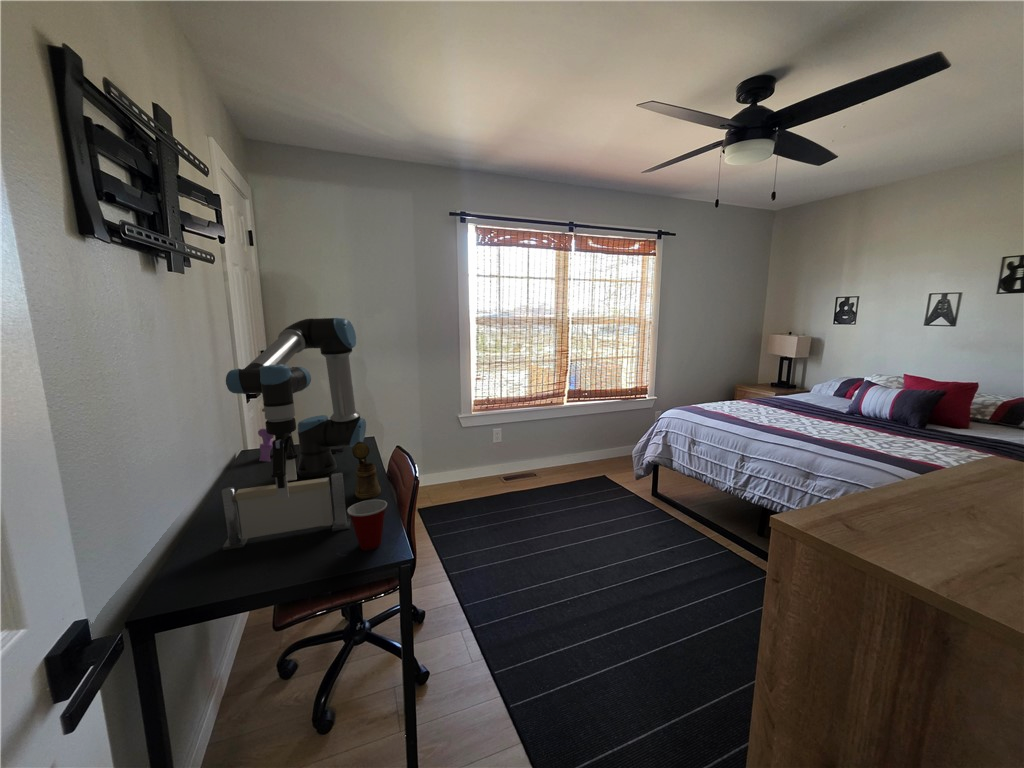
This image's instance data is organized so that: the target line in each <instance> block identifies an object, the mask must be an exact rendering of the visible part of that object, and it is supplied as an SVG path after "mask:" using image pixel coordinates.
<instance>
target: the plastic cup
mask: <svg viewBox="0 0 1024 768" xmlns="http://www.w3.org/2000/svg"><path fill="white" fill-rule="evenodd" d="M387 506H388V502H387V501H386V500H383V499H367V500H363V501H360V502H357V503H354V504H352V505H351V506H349V507H348V508H347V510H346V513H347V514H348V515H349V518H350V521H351V522H352V525H353V526H352V527H353V528H354V532H355V536H356V538H357V541H358V546H359V547H360V549H361V550H363V551H372V550H374V549H377V548H378V547H380V545H381V543H382V536H383V532H384V531H383V529H384V522H385V521H384V519H385V514H386V509H387Z"/></svg>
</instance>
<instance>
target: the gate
mask: <svg viewBox="0 0 1024 768" xmlns="http://www.w3.org/2000/svg"><path fill="white" fill-rule="evenodd" d="M288 492H289V497H288V498H281V499H278V498H277V489H276V483H275V484H269V485H259V486H254V487H249V488H248V487H247V488H245V487H244V488H239V489H237V491H235V496H236V503H237V510H238V517H239V524H240V532H241V536H242V539H246V538H248V539H251V538H257V537H262V536H271V535H275V534H282V533H288V532H293V531H297V530H298V531H300V530H306V529H312V528H316V527H327V526H329V527H330V526H333V521H334V520H333V508H332V500H331V488H330V477H322V478H315V479H307V480H300V481H292V482H288Z"/></svg>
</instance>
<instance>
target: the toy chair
mask: <svg viewBox="0 0 1024 768" xmlns="http://www.w3.org/2000/svg"><path fill="white" fill-rule="evenodd" d="M257 434H258V436H259V437H261V438H262V439H261V440H262V443H260V444H259V450H260V457H259V460H258V461H259V462H268V463H271V462H272V460H271V455H270V454H271V452H272V451H271V450H272V449H273V444H272V442H273V441H274V440H275V439H274V437H275V435H270V434H267V432H266V428H260V429H258V431H257Z"/></svg>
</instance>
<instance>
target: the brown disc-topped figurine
mask: <svg viewBox="0 0 1024 768" xmlns="http://www.w3.org/2000/svg"><path fill="white" fill-rule="evenodd" d="M369 454H370V448H369V445H367V444H366V443H365V442H364V441H363V442H360V441H359V442H357V443H356V444H355V445H354V446H352V455H353V456H354V458H356V459H357V460H358V465H357V467H356V471H355V475H356V486H355V487H356V488H355V492H354V493H355V494H354V496H355V497H356V498H358V499H362V500H363V499H364V500H366V499H367V500H369V499H372V498H373V499H374V498H375V497H378V496H380V495H381V493H382V490H381V486H380V484H379V479H378V475H377V467H376V466H375V463H374V462H368V461H367V457H368V456H369Z"/></svg>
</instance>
